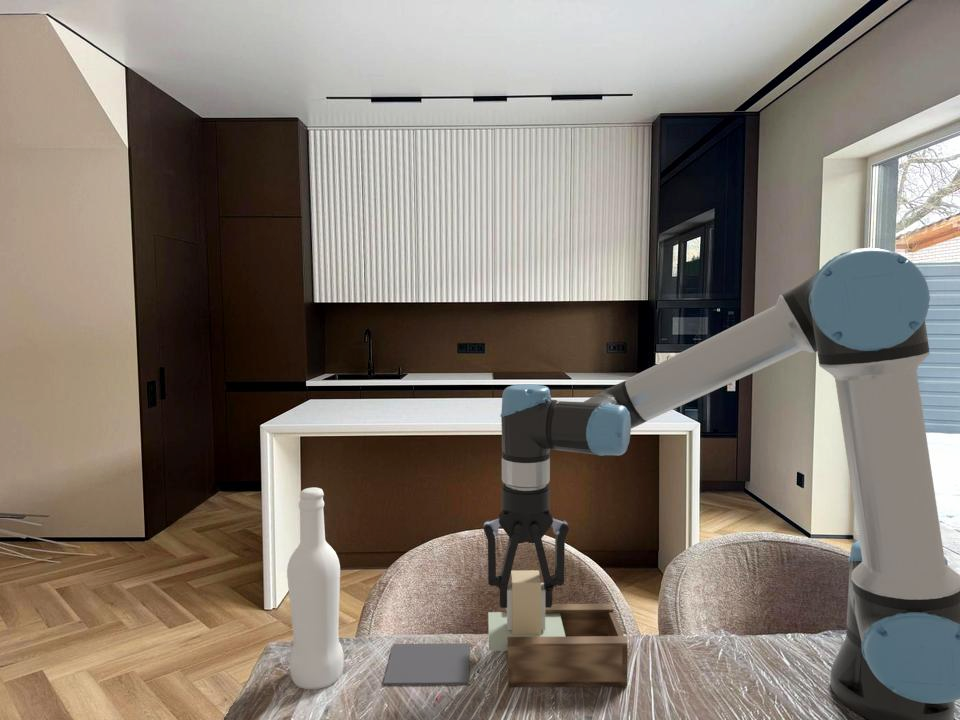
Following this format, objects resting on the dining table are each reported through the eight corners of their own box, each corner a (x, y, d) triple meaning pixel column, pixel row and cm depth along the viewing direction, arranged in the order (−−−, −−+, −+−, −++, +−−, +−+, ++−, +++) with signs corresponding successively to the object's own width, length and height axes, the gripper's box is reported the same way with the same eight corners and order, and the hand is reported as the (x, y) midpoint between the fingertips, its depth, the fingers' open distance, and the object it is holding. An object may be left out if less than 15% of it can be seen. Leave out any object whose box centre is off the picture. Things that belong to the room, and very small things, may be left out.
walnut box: (610, 642, 108) (611, 603, 108) (627, 686, 96) (627, 643, 95) (505, 643, 108) (505, 604, 108) (508, 687, 96) (507, 643, 95)
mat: (470, 645, 108) (470, 643, 108) (468, 684, 97) (468, 682, 97) (393, 646, 108) (393, 643, 108) (383, 685, 97) (383, 682, 97)
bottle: (281, 675, 100) (273, 489, 97) (328, 655, 105) (322, 478, 102) (305, 699, 94) (298, 501, 91) (353, 677, 99) (348, 489, 96)
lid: (559, 617, 107) (559, 563, 106) (567, 650, 97) (567, 590, 96) (488, 617, 107) (487, 563, 106) (488, 650, 97) (488, 591, 96)
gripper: (578, 476, 103) (577, 613, 105) (470, 477, 103) (471, 614, 106) (585, 490, 96) (584, 638, 98) (469, 491, 96) (470, 638, 98)
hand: (525, 625), depth 102 cm, fingers open, 5 cm apart
